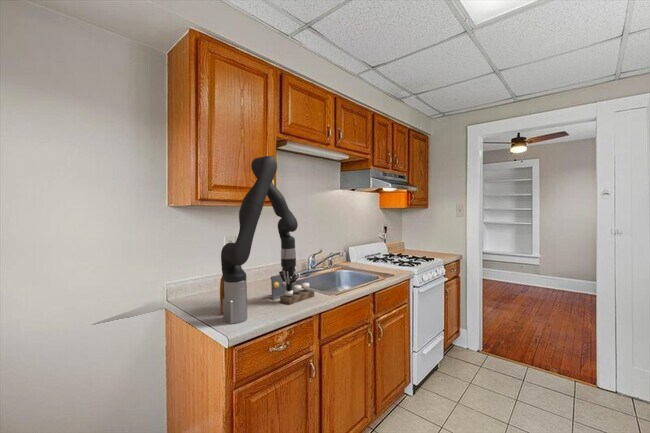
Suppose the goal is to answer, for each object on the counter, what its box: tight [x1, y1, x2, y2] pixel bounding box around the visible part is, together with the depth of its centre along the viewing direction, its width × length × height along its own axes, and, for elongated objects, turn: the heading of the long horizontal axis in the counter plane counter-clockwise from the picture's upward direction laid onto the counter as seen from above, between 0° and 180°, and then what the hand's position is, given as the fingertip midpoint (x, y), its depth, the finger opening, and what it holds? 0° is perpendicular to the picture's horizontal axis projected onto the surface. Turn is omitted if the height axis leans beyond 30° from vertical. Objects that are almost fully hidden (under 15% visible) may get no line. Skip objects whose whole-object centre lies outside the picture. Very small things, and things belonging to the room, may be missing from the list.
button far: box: [301, 282, 310, 289], centre depth 165 cm, size 4×4×2 cm
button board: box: [279, 288, 315, 306], centre depth 161 cm, size 18×7×3 cm, turn 139°
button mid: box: [294, 284, 302, 291], centre depth 161 cm, size 4×4×2 cm
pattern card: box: [269, 271, 297, 301], centre depth 168 cm, size 18×3×12 cm, turn 139°
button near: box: [285, 290, 293, 296], centre depth 156 cm, size 4×4×2 cm
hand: (289, 290), depth 156 cm, fingers closed
